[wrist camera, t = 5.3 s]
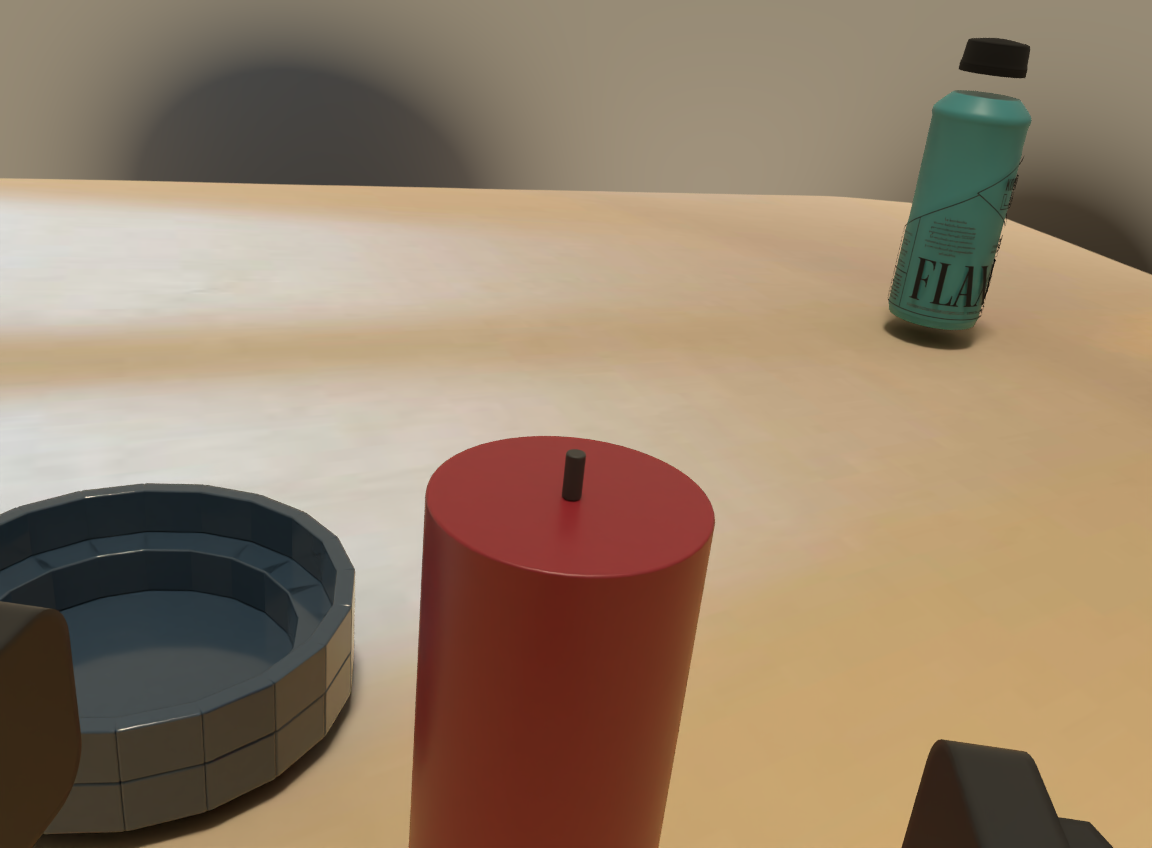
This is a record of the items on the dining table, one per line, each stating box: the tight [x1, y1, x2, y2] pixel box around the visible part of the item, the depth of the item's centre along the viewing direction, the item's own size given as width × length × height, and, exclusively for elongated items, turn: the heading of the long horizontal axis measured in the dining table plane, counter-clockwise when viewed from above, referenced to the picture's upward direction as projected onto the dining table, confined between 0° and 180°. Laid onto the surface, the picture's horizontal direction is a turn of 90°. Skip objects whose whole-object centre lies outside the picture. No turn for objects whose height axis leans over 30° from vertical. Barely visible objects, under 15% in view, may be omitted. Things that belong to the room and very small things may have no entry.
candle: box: [409, 436, 715, 848], centre depth 24 cm, size 6×6×14 cm
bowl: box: [0, 483, 355, 834], centre depth 34 cm, size 13×13×4 cm
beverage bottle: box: [888, 38, 1031, 330], centre depth 72 cm, size 6×7×20 cm
